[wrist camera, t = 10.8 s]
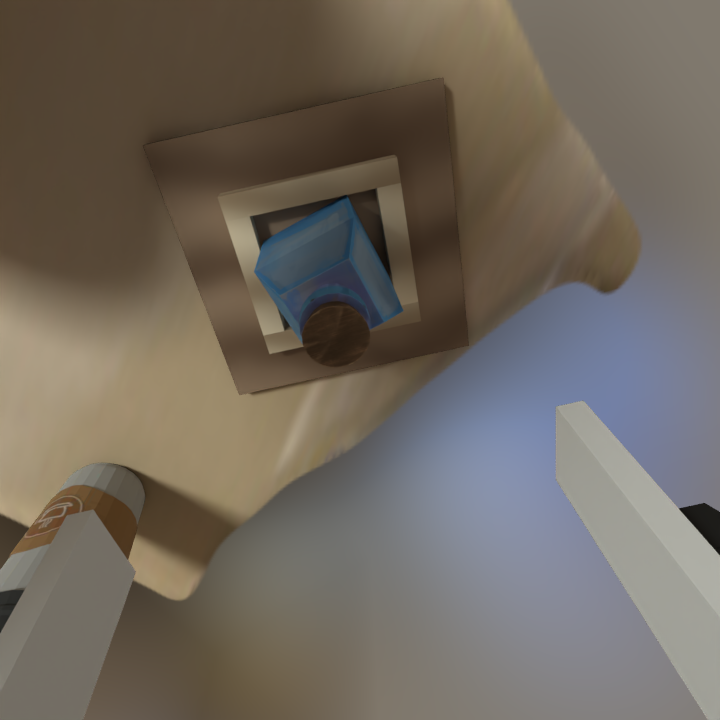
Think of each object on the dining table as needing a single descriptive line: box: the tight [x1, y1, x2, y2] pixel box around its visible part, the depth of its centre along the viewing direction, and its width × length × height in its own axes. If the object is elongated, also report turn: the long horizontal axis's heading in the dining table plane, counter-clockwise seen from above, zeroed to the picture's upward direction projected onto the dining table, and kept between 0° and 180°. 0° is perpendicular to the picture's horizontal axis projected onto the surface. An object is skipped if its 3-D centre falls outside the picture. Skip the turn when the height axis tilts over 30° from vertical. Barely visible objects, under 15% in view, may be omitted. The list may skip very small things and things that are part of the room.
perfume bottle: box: [254, 195, 403, 368], centre depth 27 cm, size 6×6×12 cm
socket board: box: [143, 78, 469, 395], centre depth 33 cm, size 18×18×2 cm
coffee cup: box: [0, 463, 145, 633], centre depth 35 cm, size 8×8×15 cm
